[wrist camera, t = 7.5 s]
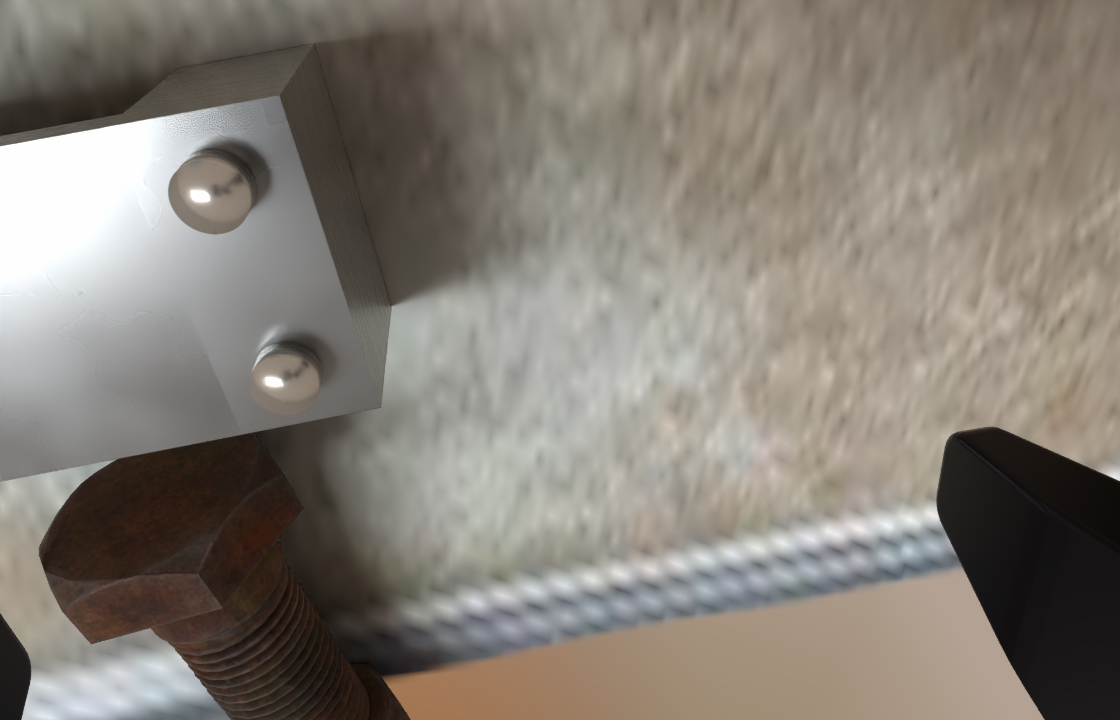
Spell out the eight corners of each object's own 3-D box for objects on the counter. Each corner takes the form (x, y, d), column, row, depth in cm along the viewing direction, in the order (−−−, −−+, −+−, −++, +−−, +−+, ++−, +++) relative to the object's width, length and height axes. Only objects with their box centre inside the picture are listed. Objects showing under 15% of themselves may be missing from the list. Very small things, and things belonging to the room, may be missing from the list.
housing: (313, 43, 16) (272, 105, 12) (391, 307, 20) (378, 425, 15) (-195, 135, 16) (-409, 230, 12) (-33, 388, 19) (-159, 530, 15)
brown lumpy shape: (370, 720, 30) (165, 405, 22) (489, 754, 28) (313, 418, 20) (272, 888, 26) (-25, 579, 18) (403, 943, 24) (135, 621, 16)
